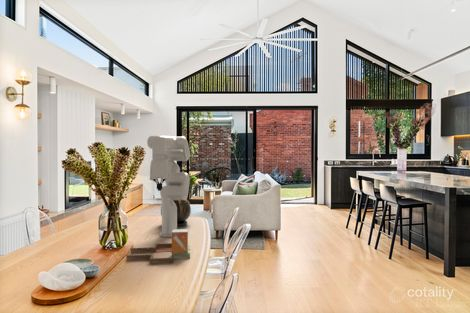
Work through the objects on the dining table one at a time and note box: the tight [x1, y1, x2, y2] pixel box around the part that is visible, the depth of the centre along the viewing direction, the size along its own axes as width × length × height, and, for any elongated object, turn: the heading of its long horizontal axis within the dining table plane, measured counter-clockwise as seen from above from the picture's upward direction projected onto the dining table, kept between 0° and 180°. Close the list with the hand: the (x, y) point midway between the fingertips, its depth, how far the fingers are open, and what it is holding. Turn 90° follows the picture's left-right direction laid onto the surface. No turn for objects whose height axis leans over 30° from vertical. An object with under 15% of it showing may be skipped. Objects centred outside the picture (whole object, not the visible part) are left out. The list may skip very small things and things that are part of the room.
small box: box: [171, 228, 189, 254], centre depth 173 cm, size 8×6×13 cm
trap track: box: [125, 242, 191, 265], centre depth 173 cm, size 26×31×2 cm
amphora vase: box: [160, 198, 192, 228], centre depth 243 cm, size 22×22×28 cm
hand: (159, 190), depth 189 cm, fingers closed
